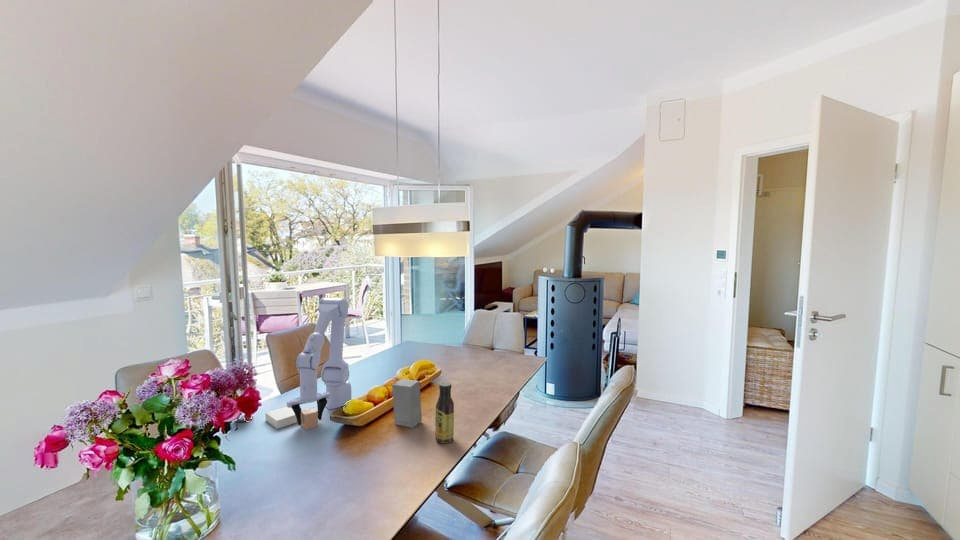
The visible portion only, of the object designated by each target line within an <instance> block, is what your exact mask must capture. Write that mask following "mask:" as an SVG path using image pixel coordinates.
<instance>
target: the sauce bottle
mask: <svg viewBox="0 0 960 540" xmlns="http://www.w3.org/2000/svg"><path fill="white" fill-rule="evenodd" d="M438 385H439V386H438V388H439V395H438V398H437V402H436V404H435V417H434V418H435V419H434V420H435V422H434V424H435V428H434V429H435V431H434V435H435V441H436V442H438V443H439V444H449V443H451V442H453V439H454V434H455V432H454V431H455V430H454V427H455V425H454V424H455V408H454V407H455V404H454V401H453V398H452V394H451V393H452V392H451V390H452V383H451V382H449V381H441V382H439V384H438Z"/></svg>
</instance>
